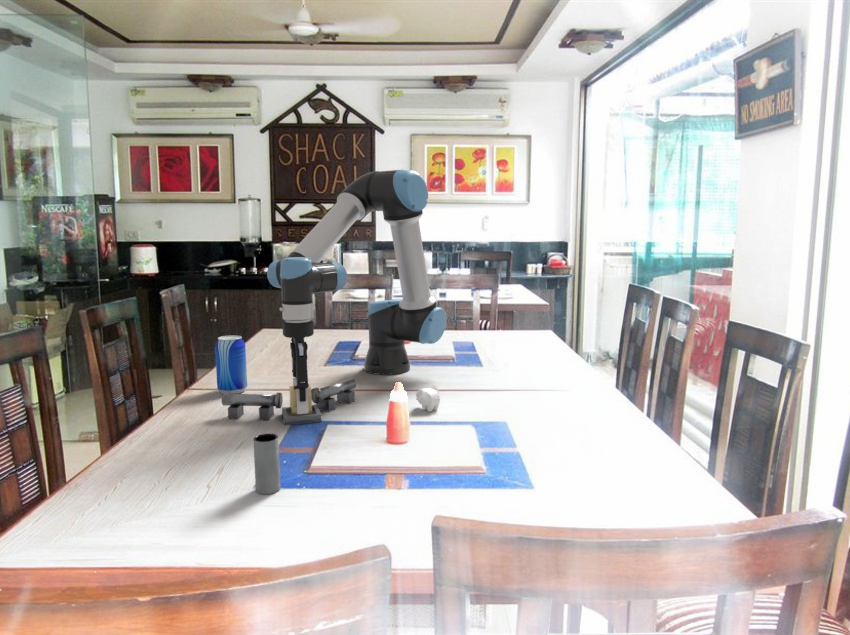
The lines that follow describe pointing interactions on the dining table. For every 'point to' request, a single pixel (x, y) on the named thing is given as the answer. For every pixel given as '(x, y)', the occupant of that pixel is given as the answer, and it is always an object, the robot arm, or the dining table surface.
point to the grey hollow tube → (266, 463)
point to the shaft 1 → (252, 404)
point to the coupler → (294, 401)
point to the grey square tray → (301, 416)
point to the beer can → (231, 364)
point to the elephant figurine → (428, 398)
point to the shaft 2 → (340, 389)
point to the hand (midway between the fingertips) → (301, 407)
